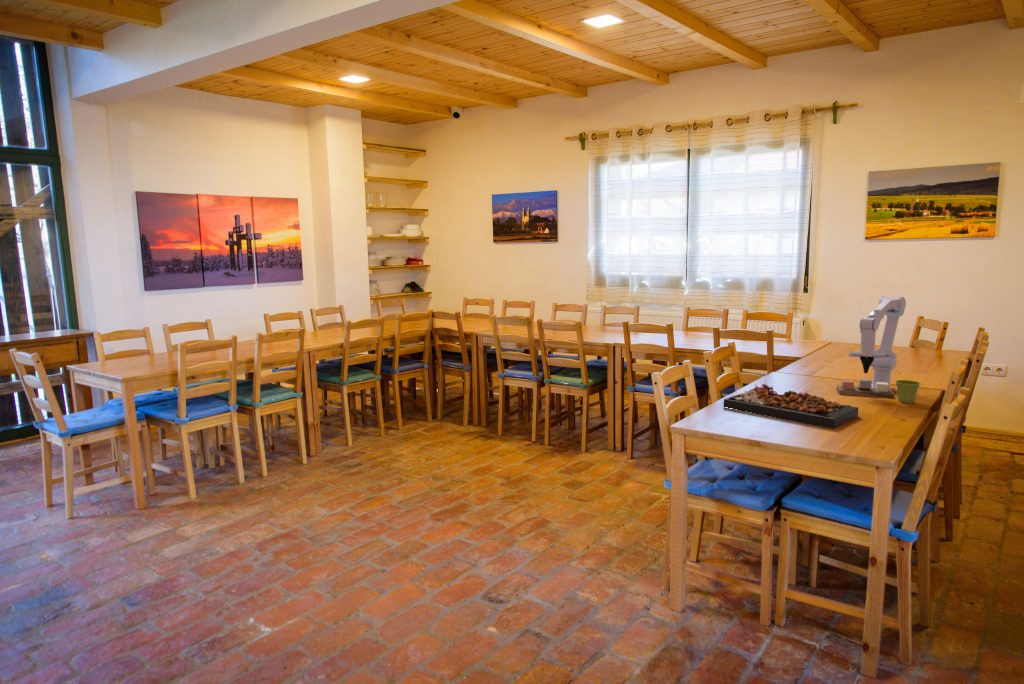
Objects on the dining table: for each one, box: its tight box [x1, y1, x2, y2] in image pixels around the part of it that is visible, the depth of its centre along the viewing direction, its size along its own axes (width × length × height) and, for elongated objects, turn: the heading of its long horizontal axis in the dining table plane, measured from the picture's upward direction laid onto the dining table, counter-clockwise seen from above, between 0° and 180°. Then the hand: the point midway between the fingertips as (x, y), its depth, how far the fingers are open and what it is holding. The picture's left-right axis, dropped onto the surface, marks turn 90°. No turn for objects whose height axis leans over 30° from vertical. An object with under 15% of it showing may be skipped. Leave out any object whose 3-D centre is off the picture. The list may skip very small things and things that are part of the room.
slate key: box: [858, 378, 873, 389], centre depth 293 cm, size 5×5×4 cm
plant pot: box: [895, 379, 922, 404], centre depth 277 cm, size 9×9×9 cm
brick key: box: [841, 379, 855, 390], centre depth 296 cm, size 5×5×4 cm
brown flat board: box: [836, 384, 895, 399], centre depth 294 cm, size 11×22×2 cm, turn 68°
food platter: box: [723, 380, 859, 430], centre depth 263 cm, size 45×25×10 cm, turn 43°
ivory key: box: [875, 382, 889, 392], centre depth 291 cm, size 5×5×4 cm
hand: (865, 372), depth 292 cm, fingers closed
